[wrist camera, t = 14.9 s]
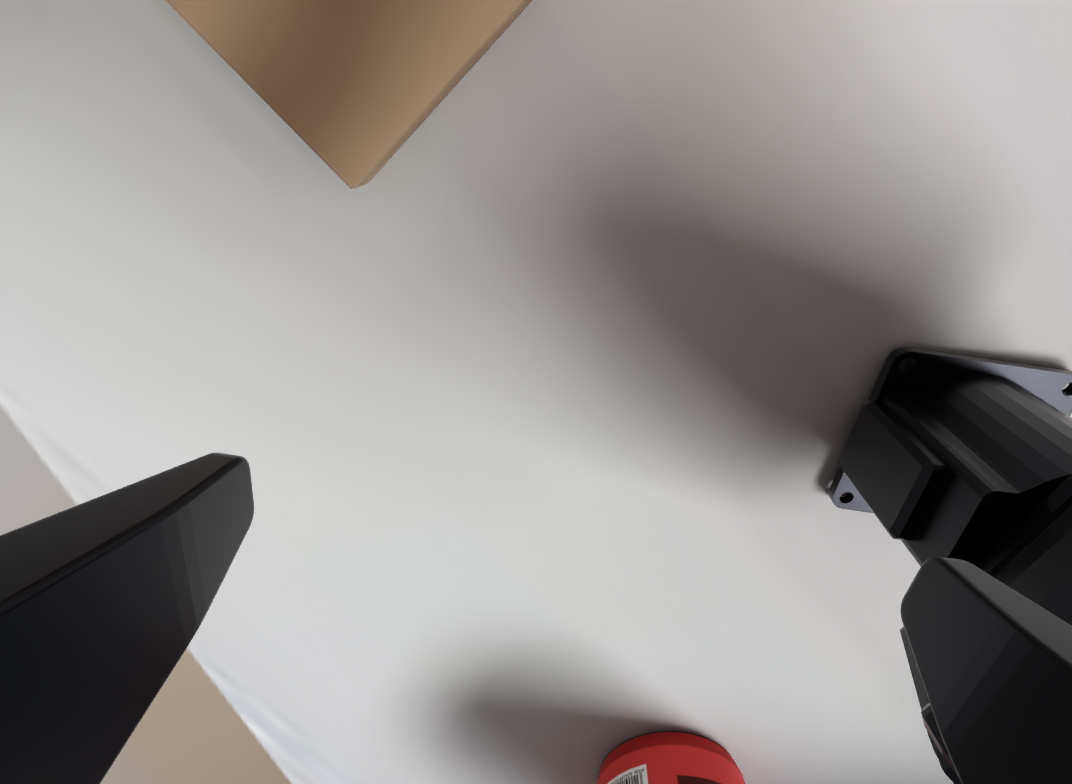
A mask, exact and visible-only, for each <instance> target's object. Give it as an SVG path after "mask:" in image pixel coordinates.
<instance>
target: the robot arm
mask: <svg viewBox="0 0 1072 784" xmlns="http://www.w3.org/2000/svg"><path fill="white" fill-rule="evenodd" d="M908 358H909V362H908V364H907V365H905V366H904V367H899V365H900V363H901V362H902V361H903V360H905V359H908ZM1068 383H1069V386H1068V387H1067V388H1065V389H1063V387H1064V386H1065V385H1066V384H1068ZM1062 389H1063V390H1062ZM1071 413H1072V371H1069V370H1062V369H1055V368H1048V367H1041V366H1034V365H1028V364H1021V363H1014V362H1007V361H1000V360H993V359H986V358H979V357H973V356H966V355H959V354H952V353H945V352H938V351H931V350H924V349H918V348H911V347H901V348H898V349H895V350H894V351H893V352H891V353H890V354H889V356H888V357H887V359H886V361H885V364H884V366H883V368H882V371H881V373H880V375H879V377H878V380H877V382H876V384H875V387H874V389H873V391H872V393H871V396H870V398H869V400H868V402H867V403H866V404H865V405H864V406H863V407H862V409H861V411H860V414H859V416H858V418H857V421H856V423H855V425H854V427H853V430H852V432H851V434H850V437H849V439H848V441H847V443H846V446H845V448H844V450H843V453H842V455H841V457H840V460H839V465H840V466H839V469H838V471H837V473H836V476H835V478H834V480H833V482H832V485H831V487H830V489H829V497H830V499H831V500H832V502H833V503H834V505H836V506H837V507H839V508H842V509H849V510H856V511H863V512H870V513H874V514H875V515H876V517H877V518H878V519H879V521H880V522H881V523H882V525H883V526H884V528H885V529H886V530H887V532H888V533H889V534H890V536H891V537H892V538H894V539H899V540H901V541H902V542H903V543H904V545H905V546H906V547H907V549H908V550H909V551H910V553H911V554H912V555H913V557H914V558H915V559H916V561H917V562H918V563H919V565H920V566H921V568H920V570H919V571H918V573H917V575H916V577H915V578H914V580H913V582H912V584H911V585H910V587H909V589H908V591H907V592H906V594H905V596H904V598H903V600H902V604H901V618H902V622H903V625H904V627H903V628H902V629H901V630H900V632H901V636H902V640H903V643H904V647H905V651H906V654H907V658H908V662H909V665H910V669H911V673H912V677H913V680H914V684H915V688H916V691H917V695H918V699H919V702H920V706H921V710H922V711H921V713H922V717H923V722H924V725H925V727H926V729H927V732H928V735H929V738H930V741H931V743H932V746H933V749H934V751H935V753H936V755H937V757H938V759H939V762H940V765H941V767H942V769H943V771H944V772H945V774H946V775H947V776H948V777H949V778H950V779H951V780H952V781H953V783H954V784H1072V418H1070V417H1069V416H1070V415H1071ZM846 492H849V493H848V494H847V495H846V496H844V497H840V496H841V495H842V494H843V493H846ZM253 514H254V501H253V492H252V483H251V474H250V467H249V463H248V461H247V460H246V459H245V458H244V457H242V456H236V455H229V454H222V453H211V454H208V455H205V456H203V457H200V458H198V459H195V460H193V461H190V462H187V463H185V464H182V465H180V466H177V467H175V468H172V469H170V470H167V471H164V472H162V473H159V474H157V475H154V476H152V477H149V478H146V479H144V480H141V481H139V482H136V483H134V484H131V485H129V486H126V487H123V488H121V489H118V490H116V491H113V492H111V493H108V494H106V495H103V496H100V497H98V498H95V499H93V500H90V501H88V502H85V503H82V504H80V505H77V506H75V507H72V508H70V509H67V510H65V511H62V512H59V513H57V514H55V515H52V516H49V517H47V518H44V519H42V520H39V521H36V522H34V523H31V524H29V525H26V526H24V527H21V528H19V529H16V530H13V531H11V532H8V533H6V534H3V535H1V536H0V784H100V783H101V781H102V780H103V778H104V776H105V775H106V773H107V772H108V770H109V769H110V767H111V766H112V764H113V762H114V761H115V759H116V758H117V756H118V755H119V753H120V751H121V750H122V748H123V747H124V745H125V744H126V742H127V740H128V739H129V737H130V736H131V734H132V732H133V731H134V729H135V728H136V726H137V725H138V723H139V722H140V720H141V719H142V717H143V715H144V714H145V712H146V711H147V709H148V707H149V706H150V704H151V703H152V701H153V700H154V698H155V697H156V695H157V693H158V692H159V690H160V688H161V687H162V686H163V684H164V682H165V681H166V679H167V678H168V676H169V675H170V673H171V671H172V670H173V668H174V667H175V665H176V663H177V662H178V661H179V659H180V657H181V655H182V654H183V653H184V651H185V650H186V648H187V646H188V645H189V643H190V641H191V640H192V638H193V636H194V635H195V633H196V632H197V630H198V628H199V626H200V624H201V623H202V621H203V619H204V617H205V615H206V613H207V611H208V609H209V607H210V605H211V603H212V601H213V599H214V597H215V595H216V593H217V591H218V589H219V587H220V585H221V583H222V581H223V579H224V577H225V575H226V573H227V571H228V569H229V567H230V565H231V563H232V561H233V559H234V557H235V555H236V553H237V551H238V549H239V547H240V545H241V543H242V541H243V539H244V537H245V535H246V533H247V531H248V529H249V527H250V525H251V522H252V519H253Z"/></svg>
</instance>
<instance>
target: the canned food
mask: <svg viewBox="0 0 1072 784" xmlns="http://www.w3.org/2000/svg"><path fill="white" fill-rule="evenodd" d="M597 784H745V782H744V779H743V776H742V774H741V772H740V771H739V769H738V767H737V765H736V763H735V762H734V760H733V759H732V757H731V756H730V754H729V753H728V752H727V751H726V750H725V749H723V748H722V747H721V746H720V745H718V744H716V743H714V742H712V741H711V740H708V739H706V738H703V737H700V736H697V735H693V734H688V733H683V732H656V733H651V734H646V735H642V736H639V737H636V738H633V739H631V740H629V741H627V742H625V743H623V744H621V745H619V746H618V747H617V748H616V749H614V750H613V751H612V752H610V754H609V755H608V756H607V757H606V759H605V760H604V762H603V764H602V766H601V768H600V772H599V776H598V780H597Z"/></svg>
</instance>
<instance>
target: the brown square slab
mask: <svg viewBox="0 0 1072 784" xmlns="http://www.w3.org/2000/svg"><path fill="white" fill-rule="evenodd" d="M166 1H167V2H168V3H169V4H170V5H171V6H172V7H173V8H174V9H175V10H176V11H177V12H178V13H179V14H180V15H181V16H182V17H183V19H184V20H185V21H186V22H187V23H188V24H189V25H190V26H191V27H192V28H193V29H194V30H195V31H196V32H197V33H198V34H199V35H200V36H201V37H202V38H203V39H204V40H205V41H206V42H207V43H208V44H209V45H210V46H211V47H212V48H213V49H214V50H215V51H216V52H217V53H218V54H219V55H220V56H221V57H222V58H223V59H224V60H225V61H226V62H227V63H228V64H229V65H230V66H231V67H232V68H233V69H234V70H235V71H236V72H237V73H238V74H239V75H240V76H241V77H242V78H243V79H244V81H245V82H246V83H247V84H248V85H249V86H250V87H251V88H252V89H253V90H254V91H255V92H256V93H257V94H258V95H259V96H260V97H261V98H262V99H263V100H264V101H265V102H266V103H267V104H268V105H269V106H270V107H271V108H272V109H273V110H274V111H275V112H276V113H277V114H278V115H279V116H280V117H281V118H282V119H283V120H284V121H285V122H286V123H287V124H288V125H289V126H290V127H291V128H292V129H293V130H294V131H295V132H296V133H297V134H298V135H299V136H300V137H301V138H302V139H303V140H304V141H305V143H306V144H307V145H308V146H309V147H310V148H311V149H312V150H313V151H314V152H315V153H316V154H317V155H318V156H319V157H320V158H321V159H322V160H323V161H324V162H325V163H326V164H327V165H328V166H329V167H330V168H331V169H332V170H333V171H334V172H335V173H336V174H337V175H338V176H339V177H340V178H341V179H342V180H343V181H344V182H345V183H346V184H347V185H348V186H349V187H350V188H351V189H353V188H356V187H359V186H361V185H364V184H366V183H368V182H369V181H370V180H371V179H372V178H373V177H374V175H375V174H376V173H377V172H378V171H379V170H380V169H381V168H382V167H383V165H384V164H385V163H386V162H387V161H388V160H389V159H390V158H391V157H392V155H393V154H394V153H395V152H396V151H397V150H398V149H399V148H400V147H401V145H402V144H403V143H404V142H405V141H406V140H407V139H408V138H409V137H410V135H411V134H412V133H413V132H414V131H415V130H416V129H417V128H418V127H419V125H420V124H421V123H422V122H423V121H424V120H425V119H426V118H427V117H428V115H429V114H430V113H431V112H432V111H433V110H434V109H435V108H436V107H437V105H438V104H439V103H440V102H441V101H442V100H443V99H444V98H445V96H446V95H447V94H448V93H449V92H450V91H451V90H452V89H453V88H454V86H455V85H456V84H457V83H458V82H459V81H460V80H461V79H462V78H463V76H464V75H465V74H466V73H467V72H468V71H469V70H470V69H471V68H472V66H473V65H474V64H475V63H476V62H477V61H478V60H479V59H480V58H481V56H482V55H483V54H484V53H485V52H486V51H487V50H488V49H489V48H490V46H491V45H492V44H493V43H494V42H495V41H496V40H497V39H498V38H499V36H500V35H501V34H502V33H503V32H504V31H505V30H506V29H507V28H508V26H509V25H510V24H511V23H512V22H513V21H514V20H515V19H516V18H517V16H518V15H519V14H520V13H521V12H522V11H523V10H524V9H525V7H526V6H527V5H528V4H529V3H530V2H531V1H532V0H166Z"/></svg>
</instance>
